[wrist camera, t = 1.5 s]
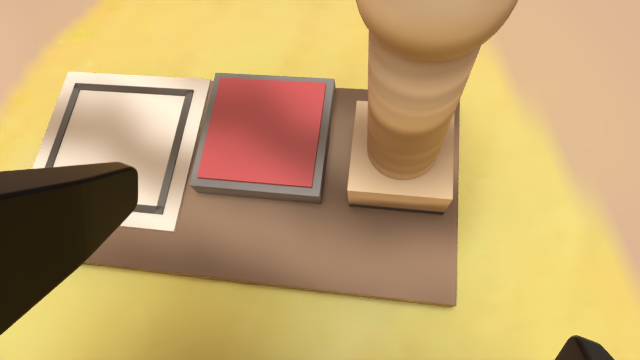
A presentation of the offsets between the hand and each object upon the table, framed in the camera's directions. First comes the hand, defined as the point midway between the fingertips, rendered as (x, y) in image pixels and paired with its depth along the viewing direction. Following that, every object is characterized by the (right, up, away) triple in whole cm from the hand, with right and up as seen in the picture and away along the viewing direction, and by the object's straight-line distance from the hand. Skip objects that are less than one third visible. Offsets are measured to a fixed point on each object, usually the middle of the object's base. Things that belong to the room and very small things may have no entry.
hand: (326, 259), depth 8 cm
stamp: (+4, +2, +14) cm, 14 cm away
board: (-5, +2, +15) cm, 16 cm away
